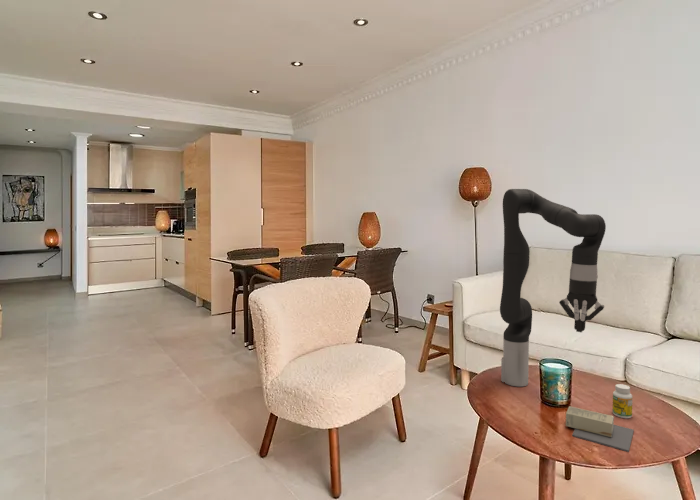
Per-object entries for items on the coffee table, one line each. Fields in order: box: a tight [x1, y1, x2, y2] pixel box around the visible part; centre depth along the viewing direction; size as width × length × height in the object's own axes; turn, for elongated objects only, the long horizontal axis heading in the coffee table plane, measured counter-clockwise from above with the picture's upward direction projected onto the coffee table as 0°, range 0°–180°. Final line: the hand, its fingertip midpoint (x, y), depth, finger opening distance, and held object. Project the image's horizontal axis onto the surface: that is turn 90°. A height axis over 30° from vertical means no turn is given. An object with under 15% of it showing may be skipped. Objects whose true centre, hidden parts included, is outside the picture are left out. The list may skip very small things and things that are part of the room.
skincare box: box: [565, 405, 615, 437], centre depth 127 cm, size 6×4×12 cm
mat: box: [571, 424, 635, 453], centre depth 125 cm, size 14×14×1 cm
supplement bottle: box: [612, 383, 633, 419], centre depth 136 cm, size 5×5×10 cm
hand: (579, 331), depth 133 cm, fingers closed
